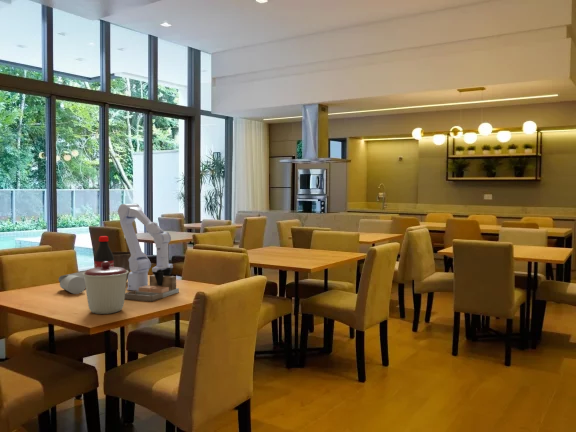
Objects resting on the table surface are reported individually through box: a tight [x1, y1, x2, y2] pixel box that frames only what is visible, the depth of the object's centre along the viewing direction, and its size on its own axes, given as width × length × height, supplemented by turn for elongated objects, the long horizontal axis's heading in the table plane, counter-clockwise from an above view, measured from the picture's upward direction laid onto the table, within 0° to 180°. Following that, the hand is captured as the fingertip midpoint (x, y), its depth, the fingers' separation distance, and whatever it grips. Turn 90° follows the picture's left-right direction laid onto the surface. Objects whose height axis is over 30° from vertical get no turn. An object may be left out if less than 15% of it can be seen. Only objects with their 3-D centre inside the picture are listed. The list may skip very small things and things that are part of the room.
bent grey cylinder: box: [58, 270, 87, 295], centre depth 264 cm, size 18×11×20 cm
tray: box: [124, 290, 164, 303], centre depth 244 cm, size 16×8×2 cm, turn 69°
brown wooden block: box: [149, 274, 177, 290], centre depth 258 cm, size 13×4×6 cm, turn 69°
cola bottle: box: [93, 235, 114, 268], centre depth 234 cm, size 8×8×30 cm
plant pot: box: [111, 251, 131, 283], centre depth 284 cm, size 15×15×16 cm
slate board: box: [136, 287, 180, 298], centre depth 254 cm, size 15×14×2 cm
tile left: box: [139, 284, 157, 292], centre depth 253 cm, size 6×6×2 cm
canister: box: [83, 261, 129, 315], centre depth 218 cm, size 18×18×21 cm
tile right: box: [151, 286, 169, 293], centre depth 250 cm, size 6×6×2 cm
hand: (162, 284), depth 258 cm, fingers open, 5 cm apart
